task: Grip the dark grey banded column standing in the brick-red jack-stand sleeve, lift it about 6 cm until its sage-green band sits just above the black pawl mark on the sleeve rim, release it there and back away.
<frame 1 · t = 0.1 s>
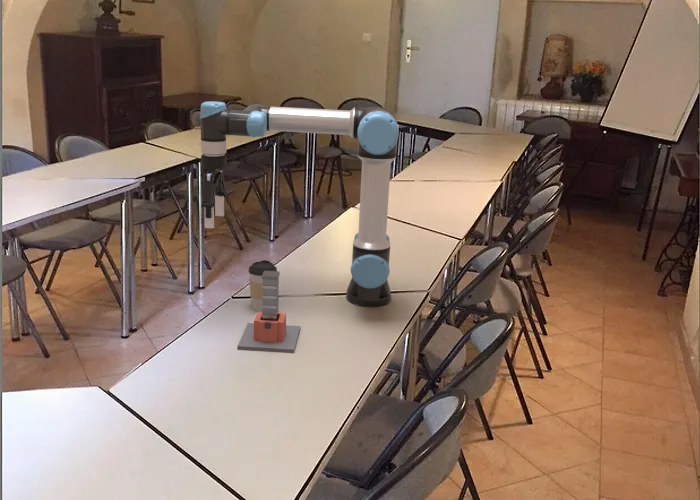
hand: (214, 221, 222), 28 cm above the table, fingers open, 13 cm apart
column: (270, 304, 205), point 11 cm above the table, slide at 0.0 cm
stand: (270, 338, 209), on the table
coffee cup: (262, 307, 231), on the table
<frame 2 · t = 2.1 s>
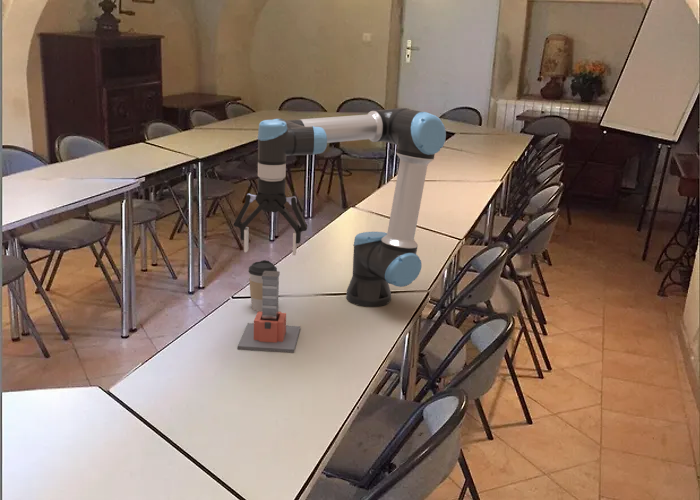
hand: (270, 252, 200), 27 cm above the table, fingers open, 13 cm apart
nothing on the table moved.
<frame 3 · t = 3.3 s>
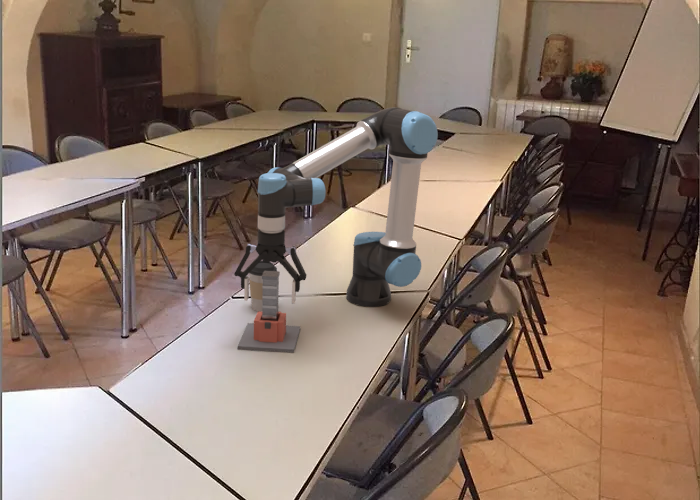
hand: (270, 300, 205), 12 cm above the table, fingers open, 13 cm apart
nothing on the table moved.
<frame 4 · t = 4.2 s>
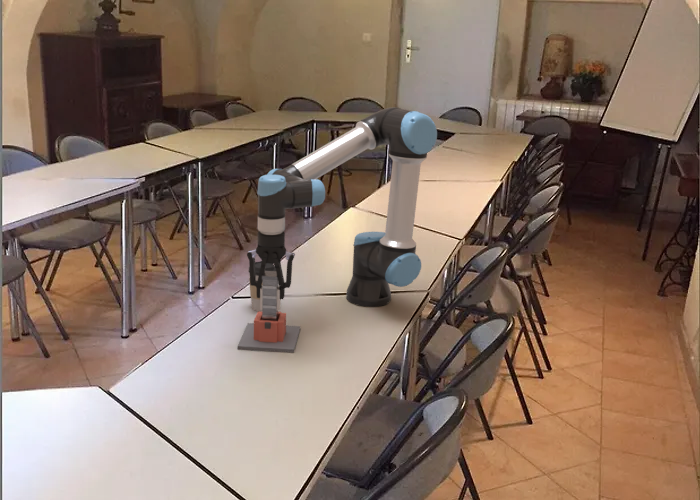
hand: (270, 308, 206), 10 cm above the table, fingers closed on column, 4 cm apart
column: (270, 304, 205), point 11 cm above the table, slide at 0.0 cm, touching gripper
everything else where it was.
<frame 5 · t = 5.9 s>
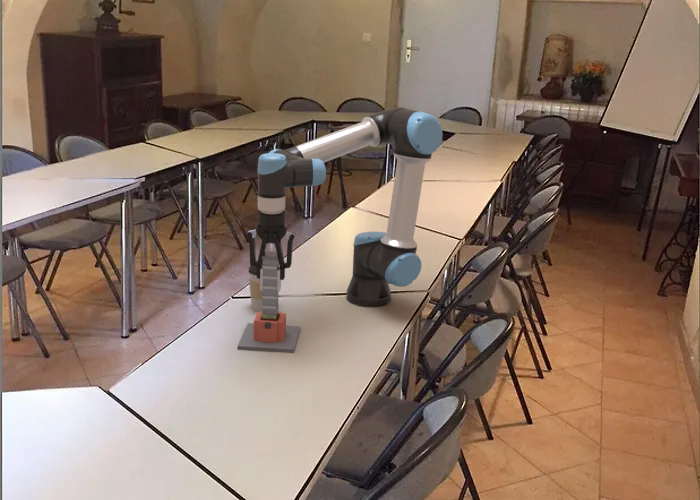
hand: (270, 289, 204), 16 cm above the table, fingers closed on column, 4 cm apart
column: (270, 285, 204), point 17 cm above the table, slide at 5.9 cm, touching gripper
everything else where it was.
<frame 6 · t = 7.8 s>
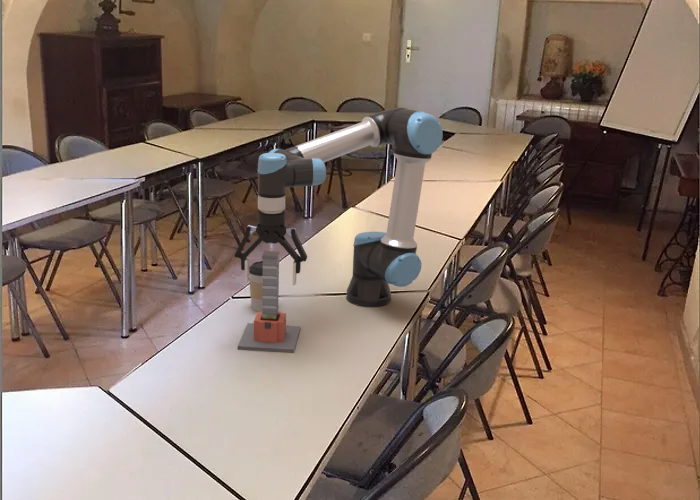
hand: (270, 282, 203), 18 cm above the table, fingers open, 13 cm apart
column: (270, 285, 204), point 17 cm above the table, slide at 6.0 cm
everything else where it was.
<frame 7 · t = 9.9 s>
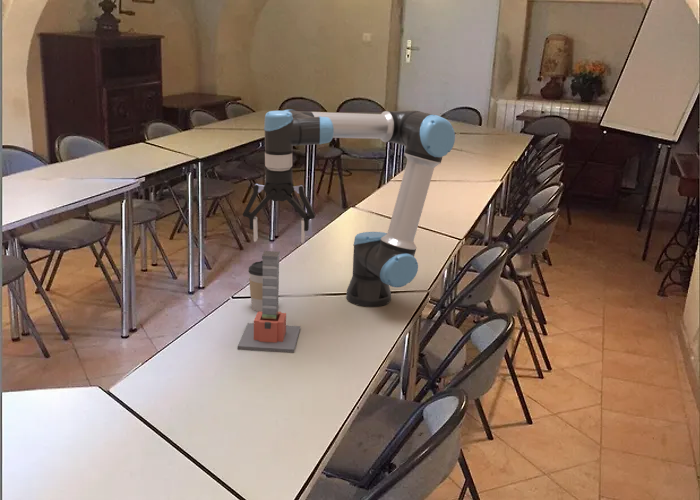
hand: (279, 240, 205), 29 cm above the table, fingers open, 13 cm apart
nothing on the table moved.
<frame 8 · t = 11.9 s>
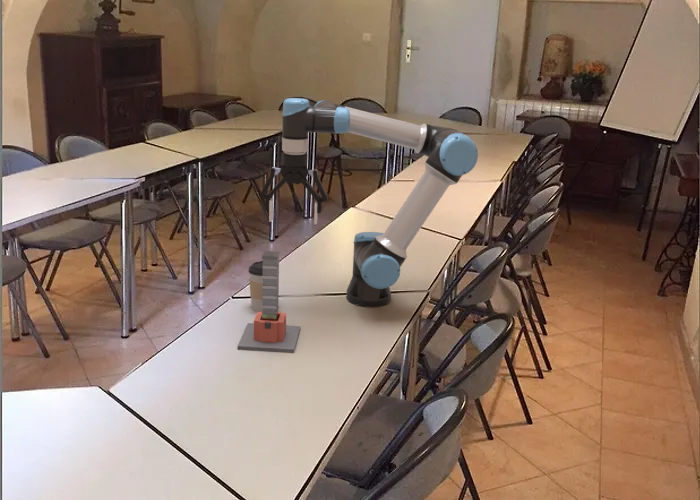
hand: (293, 221, 216), 31 cm above the table, fingers open, 13 cm apart
nothing on the table moved.
at the end: column slide at 6.0 cm; the gripper is holding nothing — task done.
